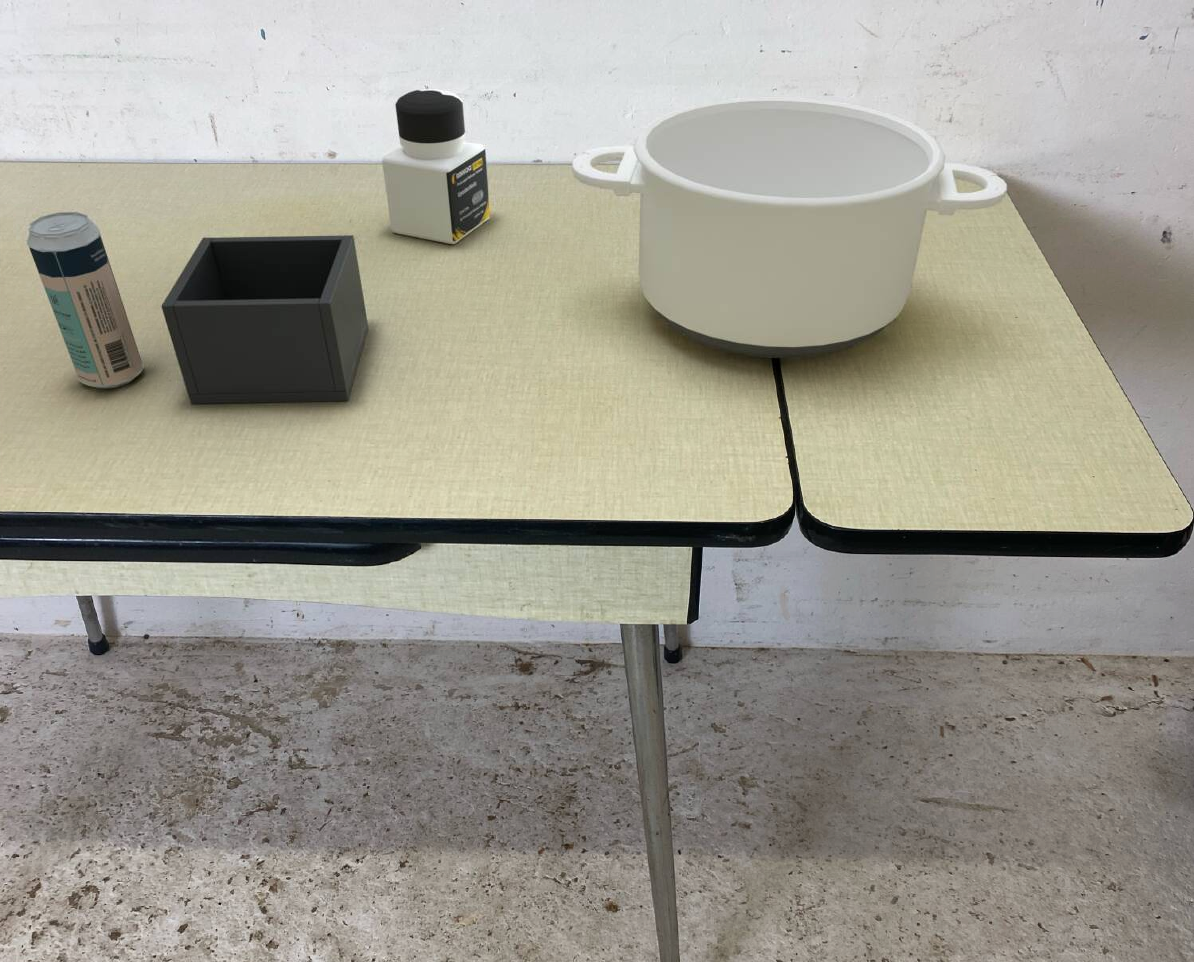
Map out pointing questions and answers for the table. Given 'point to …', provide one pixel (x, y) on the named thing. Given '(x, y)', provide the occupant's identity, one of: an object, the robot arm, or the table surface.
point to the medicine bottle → (435, 170)
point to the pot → (783, 218)
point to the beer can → (85, 298)
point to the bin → (268, 319)
